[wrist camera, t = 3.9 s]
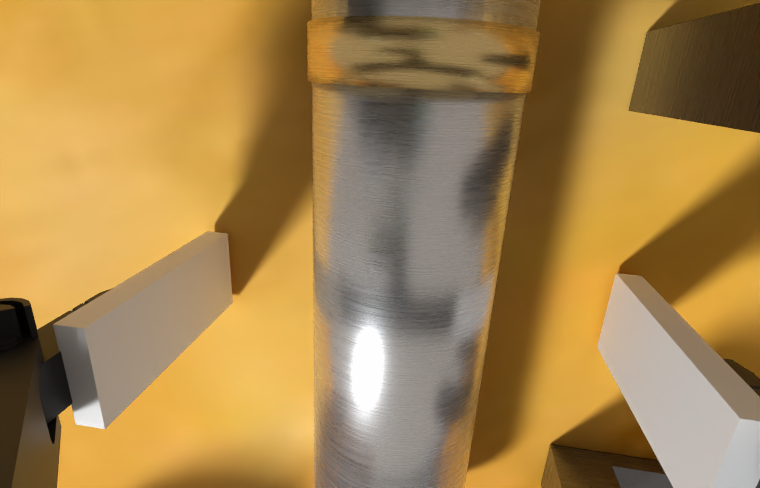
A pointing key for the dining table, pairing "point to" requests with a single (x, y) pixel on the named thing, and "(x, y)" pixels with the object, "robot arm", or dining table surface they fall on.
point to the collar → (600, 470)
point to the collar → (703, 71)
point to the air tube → (409, 226)
